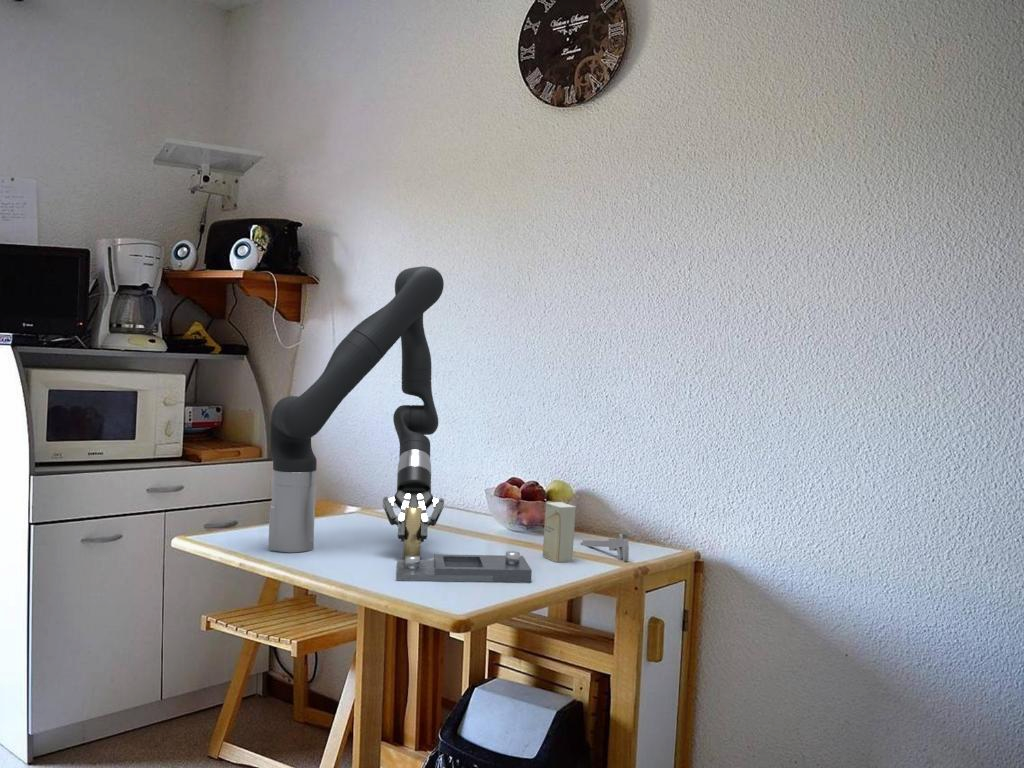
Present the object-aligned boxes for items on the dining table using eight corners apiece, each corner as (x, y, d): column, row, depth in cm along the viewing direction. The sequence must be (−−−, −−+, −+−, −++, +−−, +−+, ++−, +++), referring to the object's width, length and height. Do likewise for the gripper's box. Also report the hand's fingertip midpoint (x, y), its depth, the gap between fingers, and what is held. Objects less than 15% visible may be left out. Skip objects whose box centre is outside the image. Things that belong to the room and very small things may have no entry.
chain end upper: (435, 581, 171) (436, 558, 171) (433, 565, 184) (434, 544, 183) (531, 582, 173) (532, 559, 173) (522, 567, 186) (523, 546, 186)
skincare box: (541, 556, 197) (544, 502, 197) (559, 555, 199) (561, 501, 199) (556, 563, 191) (559, 506, 191) (574, 561, 194) (576, 505, 193)
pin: (403, 560, 187) (404, 508, 187) (403, 556, 191) (405, 505, 191) (420, 560, 188) (422, 508, 188) (419, 557, 191) (421, 506, 191)
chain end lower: (396, 580, 170) (397, 563, 170) (397, 565, 183) (397, 549, 183) (492, 581, 172) (493, 565, 172) (486, 566, 185) (487, 551, 185)
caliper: (628, 563, 196) (629, 534, 196) (624, 563, 195) (625, 535, 195) (583, 544, 214) (585, 518, 214) (579, 545, 214) (581, 519, 214)
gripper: (382, 463, 196) (378, 528, 184) (446, 465, 197) (447, 530, 185) (382, 484, 201) (378, 549, 189) (444, 485, 203) (445, 550, 191)
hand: (412, 539), depth 187 cm, fingers closed on pin, 3 cm apart
